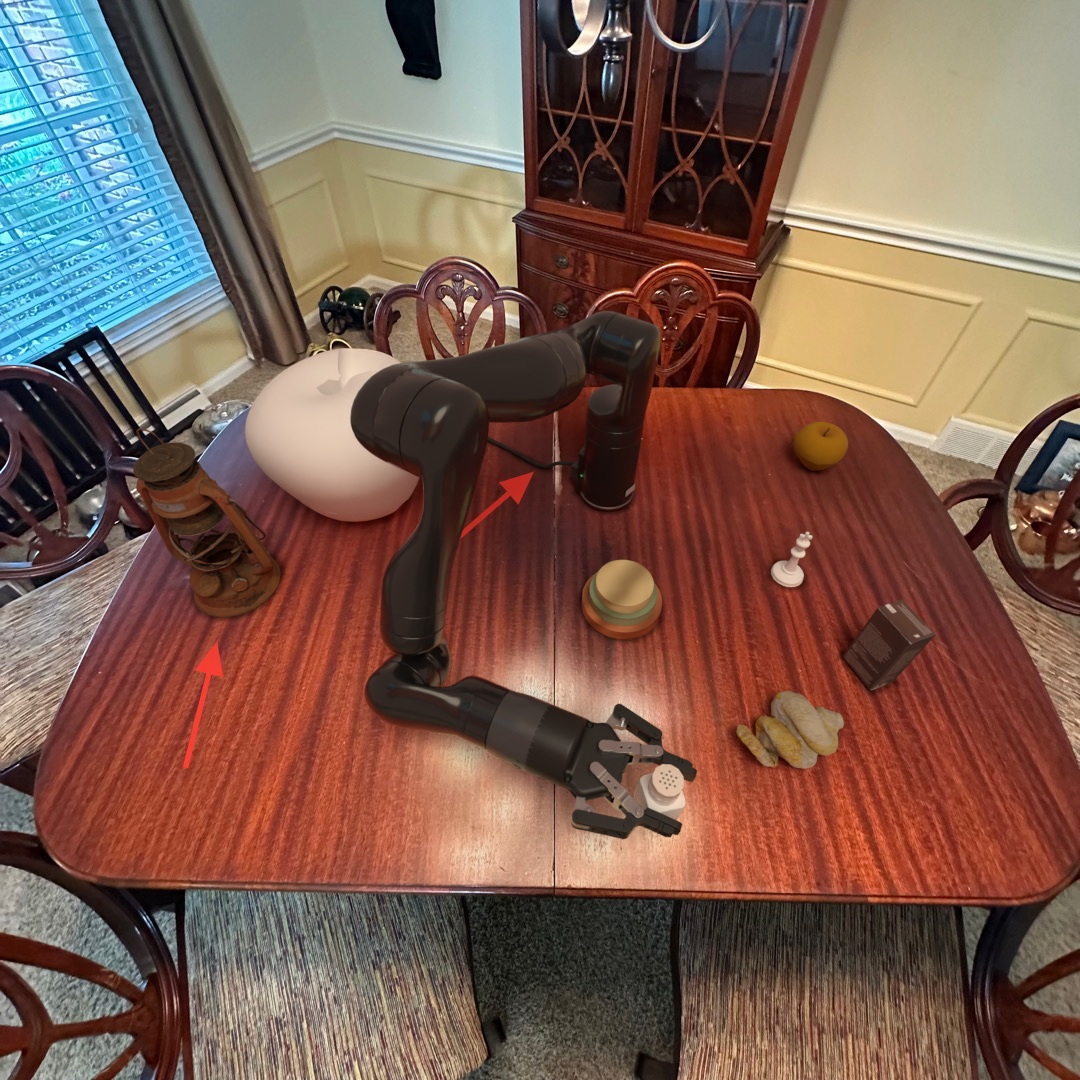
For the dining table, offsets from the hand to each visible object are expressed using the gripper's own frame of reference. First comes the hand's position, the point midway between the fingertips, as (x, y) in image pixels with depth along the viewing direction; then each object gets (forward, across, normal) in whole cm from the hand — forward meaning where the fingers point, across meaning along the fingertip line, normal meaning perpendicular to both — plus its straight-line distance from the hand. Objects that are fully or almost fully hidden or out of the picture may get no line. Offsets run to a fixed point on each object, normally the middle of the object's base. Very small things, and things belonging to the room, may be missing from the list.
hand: (687, 801), depth 61 cm
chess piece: (+7, +45, +12) cm, 47 cm away
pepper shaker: (-3, 0, +6) cm, 7 cm away
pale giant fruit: (-65, +32, +13) cm, 73 cm away
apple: (+6, +73, +13) cm, 75 cm away
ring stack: (-16, +28, +12) cm, 35 cm away
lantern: (-72, +8, +12) cm, 74 cm away
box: (+20, +32, +12) cm, 40 cm away
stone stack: (+11, +18, +12) cm, 24 cm away
